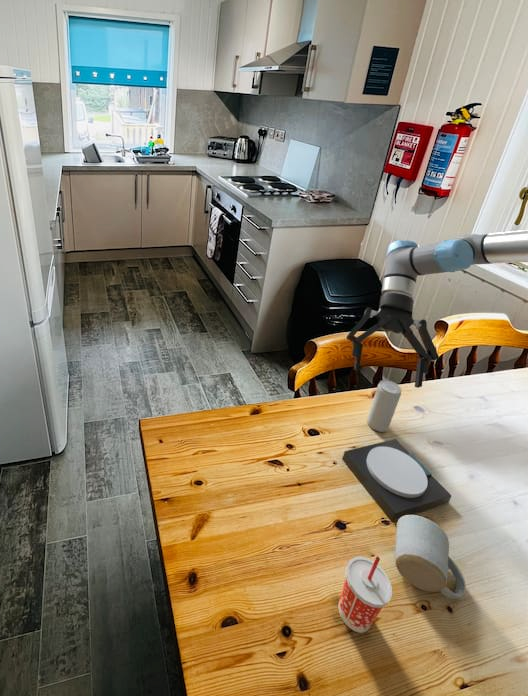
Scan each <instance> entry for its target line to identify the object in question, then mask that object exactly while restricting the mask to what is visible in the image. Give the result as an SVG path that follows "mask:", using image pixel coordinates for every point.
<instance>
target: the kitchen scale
mask: <svg viewBox="0 0 528 696" xmlns="http://www.w3.org/2000/svg"><path fill="white" fill-rule="evenodd" d="M341 459H342V461H343V462H344V463H345V465H346V466H347V467H348V469H349V470H350V471H351V472H352V474H353V475H354V476H355V477H356V479H357V480H358V481H359V482H360V483H361V485H362V486H363V487H364V488H365V490H366V491H367V492H368V494H369V495H370V496H371V497H372V499H373V500H374V502H376V504H377V506H379V508H380V509H381V510H382V512H383V513H384V514H385V515H386V517H387V519H389V520H390V521H391V522H394V521H398V520H399V519H400V518H401V517H402V516H405V515H418V514H420V513H423V512H426V511H429V510H432V509H436V508H439V507H442V506H445V505H448V504H449V502H450V501H451V499H452V494H451V493H450V492H449V491H448V490H447V489H446V488H445V487H444V486H443V485H442V484H441V483H440V482H439V481H438V480H437V479H436V478H435V477H434V476H433V473H432V472H431V471H430V470H429V469H428V468H427V467H426V466H425V465H424V464H423V463H422V462H421V461H420V460H419V459H418V458H417V457H416V456H415V455H414V454H413V453H411V452H410V451H408V450H407V448H406V447H404V445H402V444H401V442H399V440H398V439H397V438H393V439H388V440H385V441H381V442H377V443H372V444H368V445H364V446H360V447H356V448H352V449H348V450H344V451H343V455H342V457H341Z"/></svg>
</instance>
